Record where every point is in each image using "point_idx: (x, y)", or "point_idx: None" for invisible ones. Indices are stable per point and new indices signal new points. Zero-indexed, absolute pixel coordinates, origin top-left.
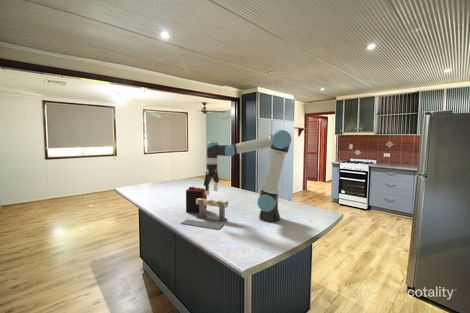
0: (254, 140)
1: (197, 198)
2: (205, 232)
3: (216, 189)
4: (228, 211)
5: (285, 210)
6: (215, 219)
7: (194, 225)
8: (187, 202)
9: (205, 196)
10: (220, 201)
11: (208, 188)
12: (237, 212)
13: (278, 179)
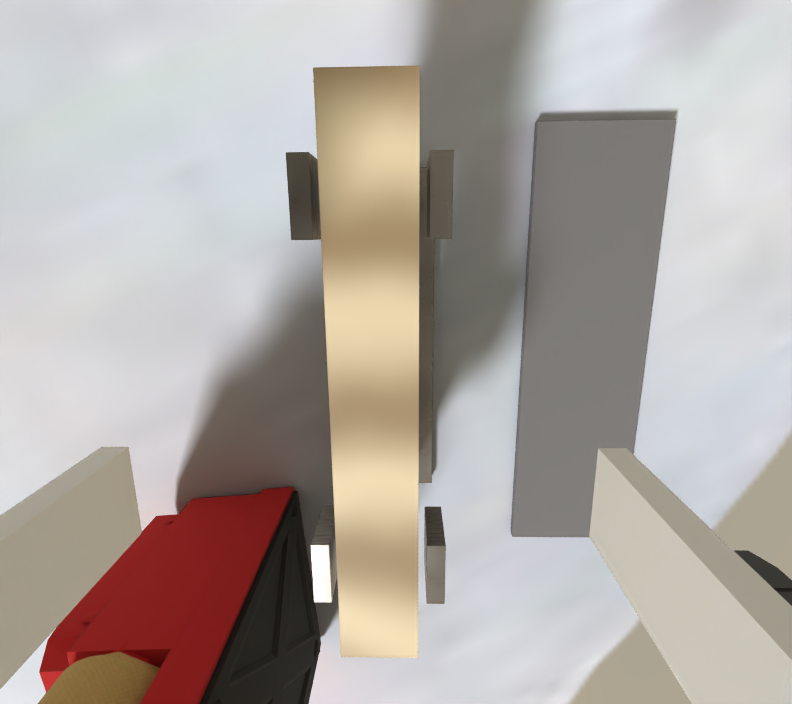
0: None
1: (256, 680)
2: (765, 223)
3: (99, 486)
4: (80, 263)
5: None
6: (426, 275)
7: (638, 400)
8: None
9: (114, 628)
10: (377, 229)
11: (754, 587)
12: (53, 139)
13: None
